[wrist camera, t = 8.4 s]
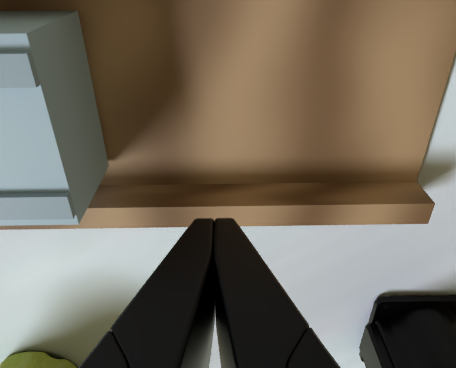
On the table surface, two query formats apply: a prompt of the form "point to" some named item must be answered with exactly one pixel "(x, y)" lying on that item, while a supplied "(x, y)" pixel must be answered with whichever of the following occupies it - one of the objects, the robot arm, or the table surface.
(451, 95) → the table surface
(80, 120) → the grey box
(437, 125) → the table surface
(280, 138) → the brown tray
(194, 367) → the robot arm
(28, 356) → the plant pot
